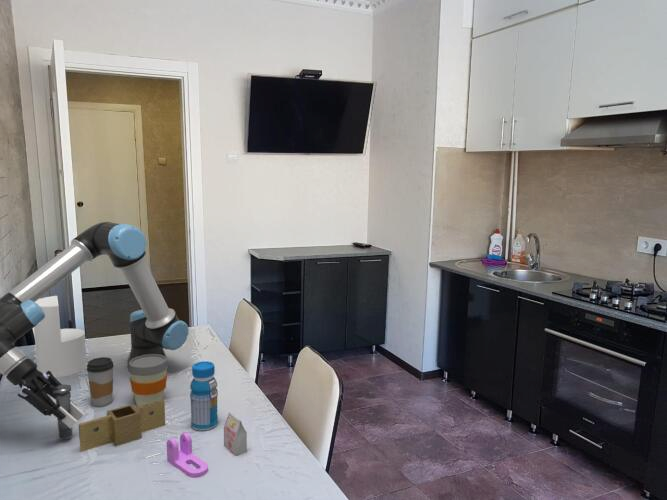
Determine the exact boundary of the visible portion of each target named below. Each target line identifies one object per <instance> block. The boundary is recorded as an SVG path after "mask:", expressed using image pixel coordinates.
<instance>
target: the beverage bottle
mask: <svg viewBox="0 0 667 500" xmlns="http://www.w3.org/2000/svg"><path fill="white" fill-rule="evenodd" d="M215 370H216V369H215V364H214V362H212V361H206V360H205V361H204V360H203V361H199V362H196V363H194V364H192V368H191V373H192V374H191V375H192V380H191V383H190V385H189V387H190V388H189V389H190V393H189V398H190V413H191V416H190V417H191V418H190V419H191V420H190V421H191V422H190V424H191V427H192V429H193V430H196V431H208V430H212V429H214V428H215V427H216V426H217V425H218V422H219V419H218V394H219V393H218V389H217V387H218V382H217V379H216V378H215V376H214V375H215V374H216V373H215Z"/></svg>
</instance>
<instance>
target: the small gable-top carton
mask: <svg viewBox="0 0 667 500" xmlns="http://www.w3.org/2000/svg"><path fill="white" fill-rule="evenodd" d="M247 434H248V433H247V431H246V428H245V427H244V425H243V423H242V421H241V420H240V419H239V418H238V417H237V416H235V415H234V414H233V413H231V412H228V415H227V418H226V420H225V423H224V425H223V447H224V448H226V449H227V450H228V451H229V452H230V453H232V455H234V456H235V457H237V456H239V455H242V454H244V453H247V452H248V447H247V446H248V439H247V437H248V435H247Z"/></svg>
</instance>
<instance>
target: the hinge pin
mask: <svg viewBox="0 0 667 500" xmlns="http://www.w3.org/2000/svg"><path fill="white" fill-rule="evenodd" d="M71 391H72V385H71V384H66V383H65V384H62V385H59V386H56V387H55V388H53V393H54V394H55V395H56V400H55V404H56V405H57V406H58V408H59V407H60V406H61V407H62V408H64V409H65V410H66V411H67V412H68V413H69V414H70V415H71V406H70V400H71V397H70V395H71V394H70V393H71ZM69 392H70V393H69ZM71 416H72V415H71ZM56 418H57V417H56ZM56 421H57V429H58V438H59V439H62V440H64V439H68V438H71V437H72V436H73V433H74V432H73V426H72V427H71V428H69V427H68V426H67V425H66V424H65V423H64V422H63V421H61V420H59V419H58V418H57V420H56Z"/></svg>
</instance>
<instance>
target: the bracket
mask: <svg viewBox="0 0 667 500" xmlns="http://www.w3.org/2000/svg"><path fill="white" fill-rule="evenodd" d="M179 449H180V450H179ZM166 460H167V462H168V463H170V464H171V465H172V466H174V467H175V468H177V469H178V470H179V471H181V472H182V473H184V474H185V475H187V477H189V478H192V479H193V478H194V479H195V478H201V477H204V476H205V475H206V474H207V473H208V471H209V466H208V465H209V464H208V463H207V462H205V461H204V460H203V459H202V458H200V457H198V456H196V455H195V454H194V453H193V440H192V436H191V434H190V433H189V432H187V431H186V432H184V433H182V434H180V436H179V442H178V441H177V439H176V438H174V437H172V438H170V439H168V440H167V441H166ZM191 465H192V466H191ZM193 466H194V467H195V468H194V467H193Z"/></svg>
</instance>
